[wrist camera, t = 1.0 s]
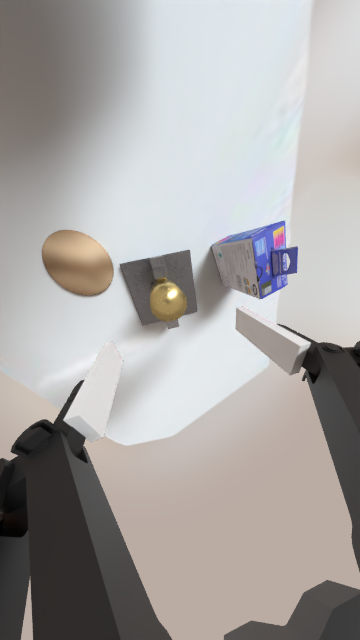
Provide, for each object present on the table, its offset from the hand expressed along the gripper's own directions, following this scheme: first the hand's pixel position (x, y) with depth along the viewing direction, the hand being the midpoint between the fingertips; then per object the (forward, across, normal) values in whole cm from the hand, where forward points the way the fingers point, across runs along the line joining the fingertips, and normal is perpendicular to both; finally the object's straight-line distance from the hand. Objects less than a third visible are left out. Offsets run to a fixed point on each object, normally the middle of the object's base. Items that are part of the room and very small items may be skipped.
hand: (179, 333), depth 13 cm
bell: (+15, 0, 0) cm, 15 cm away
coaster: (+18, -14, +8) cm, 24 cm away
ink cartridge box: (+18, +16, +3) cm, 25 cm away
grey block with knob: (+18, 0, 0) cm, 18 cm away
